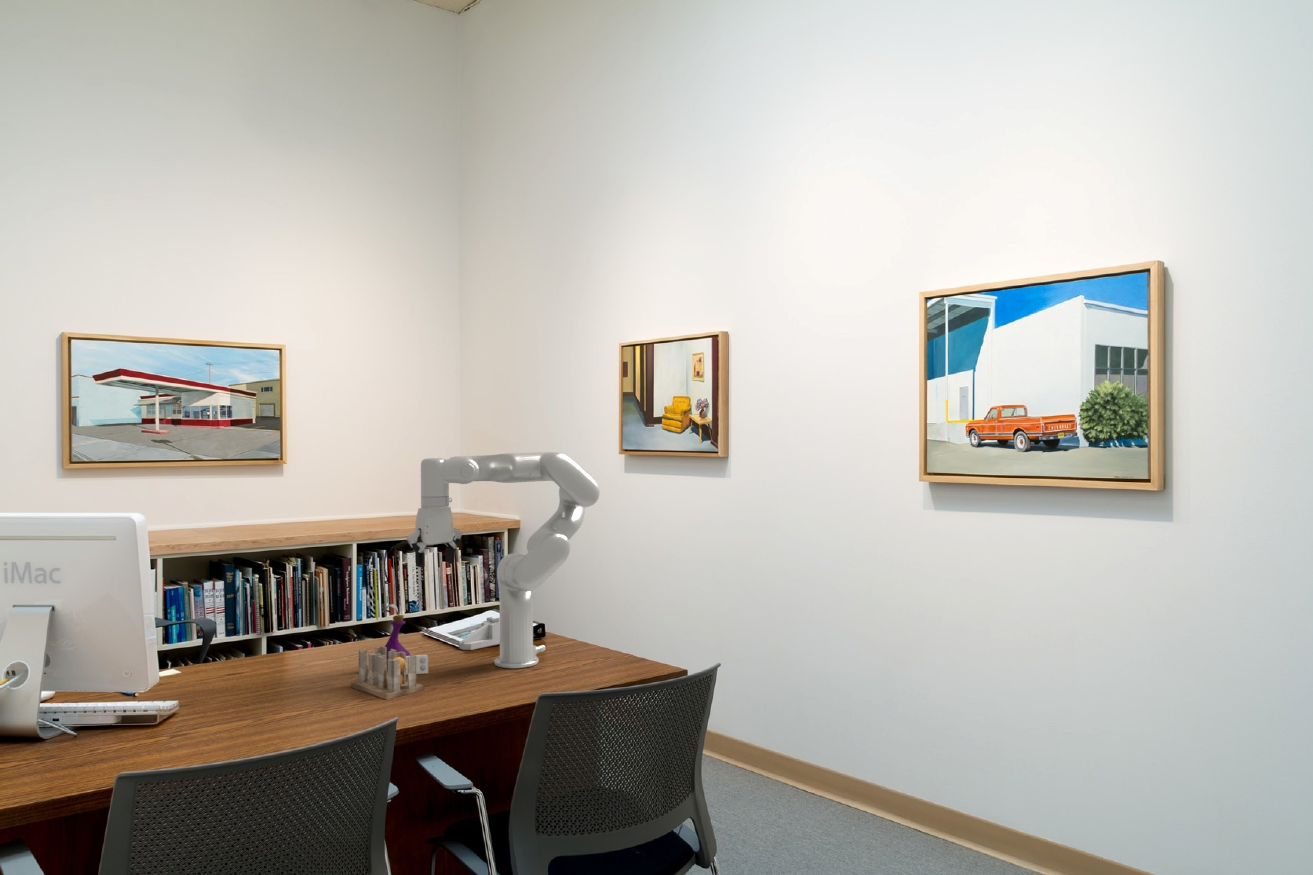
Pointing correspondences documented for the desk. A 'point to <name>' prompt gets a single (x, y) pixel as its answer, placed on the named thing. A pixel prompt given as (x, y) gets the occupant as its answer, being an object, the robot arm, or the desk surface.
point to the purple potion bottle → (395, 634)
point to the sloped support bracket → (483, 635)
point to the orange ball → (401, 663)
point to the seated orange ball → (400, 679)
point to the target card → (419, 664)
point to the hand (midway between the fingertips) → (435, 564)
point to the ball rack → (379, 674)
